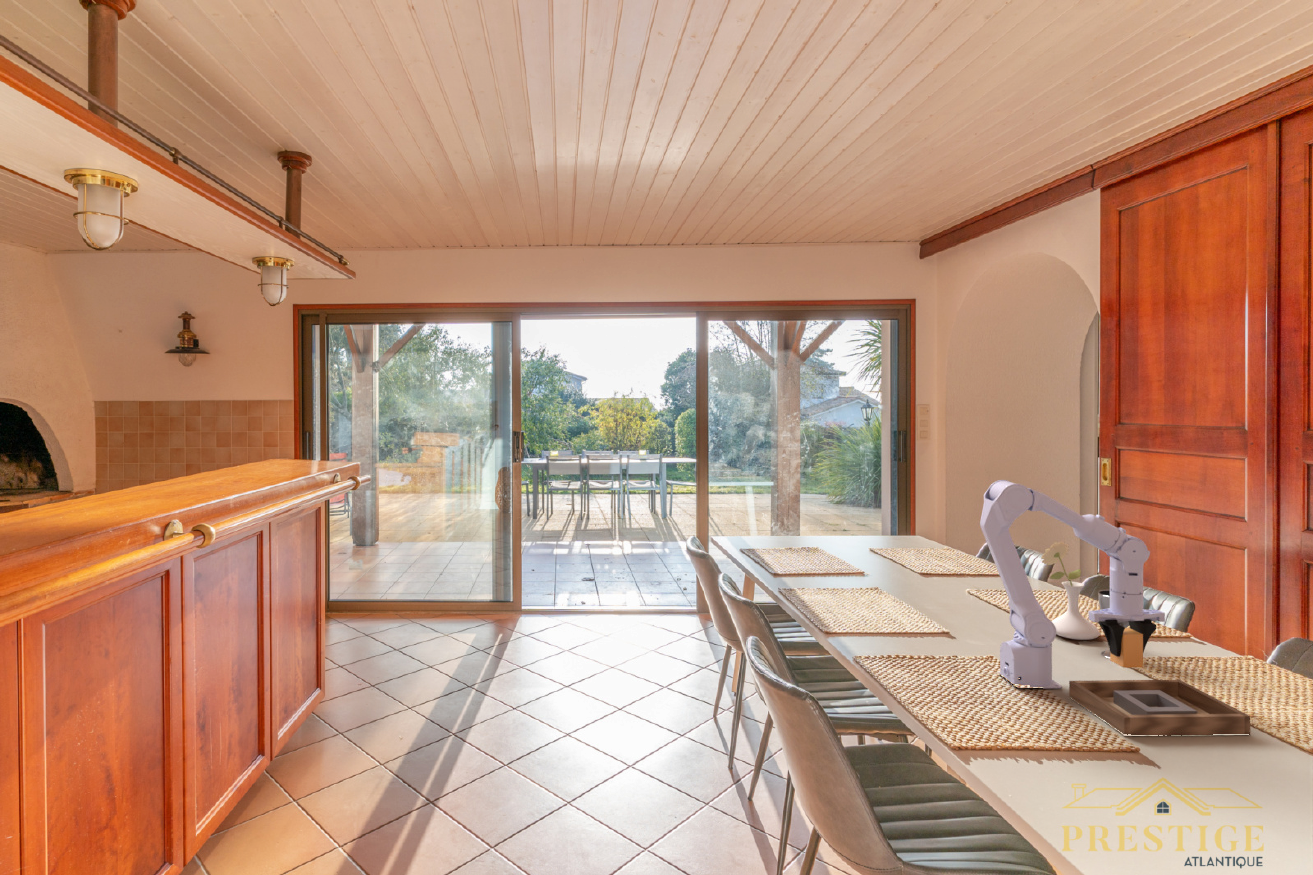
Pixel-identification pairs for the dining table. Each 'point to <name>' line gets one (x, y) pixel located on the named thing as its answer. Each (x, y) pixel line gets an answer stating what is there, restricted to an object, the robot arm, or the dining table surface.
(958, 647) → the dining table surface
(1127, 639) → the block
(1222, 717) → the walled box
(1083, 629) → the flower in vase
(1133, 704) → the frame
